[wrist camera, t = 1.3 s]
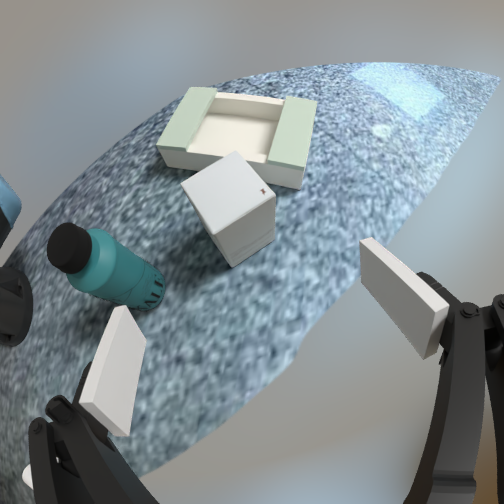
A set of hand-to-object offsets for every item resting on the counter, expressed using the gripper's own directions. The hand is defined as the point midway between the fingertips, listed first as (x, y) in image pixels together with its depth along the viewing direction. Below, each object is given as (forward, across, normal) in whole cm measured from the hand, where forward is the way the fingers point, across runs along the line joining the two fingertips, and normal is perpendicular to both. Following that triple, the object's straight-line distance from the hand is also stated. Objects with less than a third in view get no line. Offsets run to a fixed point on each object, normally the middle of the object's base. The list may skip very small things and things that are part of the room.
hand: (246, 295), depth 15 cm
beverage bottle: (+21, -14, -10) cm, 27 cm away
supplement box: (+25, 0, -7) cm, 25 cm away
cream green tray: (+36, +5, +5) cm, 36 cm away
